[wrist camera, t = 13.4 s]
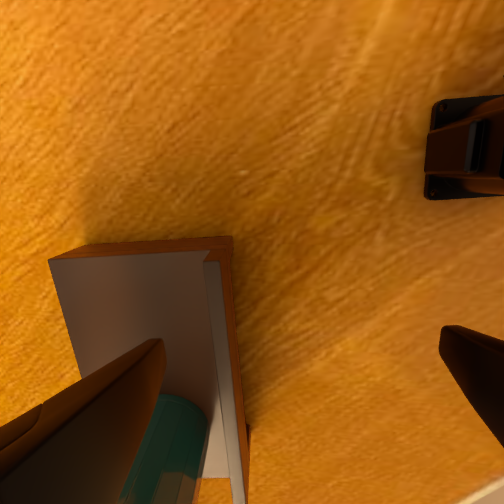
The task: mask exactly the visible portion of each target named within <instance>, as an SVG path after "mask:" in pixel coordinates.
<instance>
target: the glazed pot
mask: <svg viewBox="0 0 504 504" xmlns="http://www.w3.org/2000/svg"><path fill="white" fill-rule="evenodd" d="M209 436H210V426H209V422H208V420H207V418H206V416H205V414H204V413H203V411H202V410H201V409H200V408H199V407H198V406H196V405H195V404H194V403H192V402H191V401H189V400H187V399H185V398H182V397H180V396H176V395H170V394H159V395H158V398H157V402H156V405H155V408H154V411H153V414H152V417H151V419H150V422H149V424H148V427H147V429H146V432H145V434H144V437H143V439H142V442H141V444H140V447H139V449H138V452H137V454H136V457H135V459H134V462H133V464H132V467H131V469H130V472H129V474H128V477H127V479H126V481H125V484H124V486H123V489H122V491H121V494H120V496H119V499H118V501H117V504H197V499H198V494H199V489H200V484H201V479H202V474H203V469H204V464H205V459H206V454H207V449H208V444H209Z"/></svg>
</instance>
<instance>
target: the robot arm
mask: <svg viewBox="0 0 504 504" xmlns="http://www.w3.org/2000/svg"><path fill="white" fill-rule="evenodd" d="M503 77H504V76H503ZM441 105H442V106H443V108H444V110H443V112H441V111H440V109H439V108H440V106H441ZM424 171H425V173H426V177H425V187H424V197H425V198H426V199H427V200H447V199H462V198H477V197H492V196H504V94H502V95H490V96H479V97H467V98H456V99H444V100H441V101H439V102H437V103H435V104H434V106H433V108H432V115H431V125H430V133H429V134H428V136H427V146H426V157H425V167H424ZM432 190H434V192H435V193H434V195H433V196H431V191H432ZM439 354H440V356H441V358H442V359H443V361H444V363H445V364H446V366H447V368H448V369H449V371H450V372H451V374H452V376H453V377H454V379H455V380H456V382H457V384H458V385H459V387H460V388H461V390H462V392H463V393H464V395H465V396H466V398H467V399H468V401H469V402H470V404H471V405H472V406H473V408H474V409H475V411H476V412H477V413H478V415H479V416H480V417H481V419H482V420H483V421H484V423H485V424H486V425H487V426H488V428H489V429H490V430H491V432H492V433H493V434H494V436H495V437H496V438H497V440H498V441H499V442H500V444H501V445H502V446H503V448H504V341H503V340H500V339H497V338H494V337H491V336H488V335H485V334H482V333H479V332H477V331H474V330H471V329H468V328H465V327H462V326H459V325H446V326H443V327H442V329H441V334H440V341H439ZM166 367H167V357H166V352H165V346H164V341H163V339H161V338H151V339H148V340H146V341H145V342H143V343H141V344H140V345H138V346H136V347H135V348H133V349H131V350H130V351H128V352H126V353H125V354H123V355H121V356H120V357H118V358H116V359H115V360H113V361H111V362H110V363H108V364H106V365H105V366H103V367H101V368H100V369H98V370H96V371H95V372H93V373H91V374H90V375H88V376H86V377H85V378H83V379H81V380H80V381H78V382H76V383H74V384H73V385H71V386H69V387H68V388H66V389H64V390H63V391H61V392H59V393H58V394H56V395H54V396H53V397H51V398H49V399H48V400H46V401H44V402H43V404H39V405H37V406H36V407H34V408H33V409H31V410H29V411H28V412H26V413H24V414H22V415H21V416H19V417H17V418H16V419H14V420H12V421H10V422H9V423H7V424H5V425H3V426H2V427H0V504H117V501H118V499H119V496H120V494H121V491H122V489H123V486H124V484H125V481H126V479H127V477H128V474H129V472H130V469H131V467H132V464H133V462H134V459H135V457H136V454H137V452H138V449H139V447H140V444H141V442H142V439H143V437H144V434H145V432H146V429H147V427H148V424H149V422H150V419H151V417H152V414H153V411H154V408H155V405H156V402H157V398H158V395H159V391H160V388H161V384H162V381H163V377H164V374H165V370H166Z"/></svg>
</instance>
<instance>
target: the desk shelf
mask: <svg viewBox="0 0 504 504" xmlns="http://www.w3.org/2000/svg"><path fill="white" fill-rule="evenodd" d="M232 252H233V240H232V236H219V237H203V238H187V239H171V240H155V241H139V242H123V243H108V244H92V245H84V246H81V247H78V248H76V249H73V250H71V251H68V252H66V253H63V254H61V255H58V256H55V257H53V258H50V259H48V263H49V267H50V270H51V274H52V277H53V281H54V284H55V288H56V291H57V295H58V298H59V301H60V305H61V308H62V312H63V315H64V319H65V322H66V326H67V329H68V333H69V336H70V340H71V343H72V346H73V350H74V353H75V357H76V360H77V364H78V367H79V371H80V374H81V378H82V379H83V378H85V377H86V376H88V375H90V374H91V373H93V372H95V371H96V370H98V369H100V368H101V367H103V366H105V365H106V364H108V363H110V362H111V361H113V360H115V359H116V358H118V357H120V356H121V355H123V354H125V353H126V352H128V351H130V350H131V349H133V348H135V347H136V346H138V345H140V344H141V343H143V342H145V341H146V340H148V339H151V338H161V339H163V341H164V346H165V352H166V357H167V367H166V370H165V374H164V377H163V381H162V384H161V388H160V391H159V394H170V395H176V396H180V397H182V398H185V399H187V400H189V401H191V402H192V403H194V404H195V405H196V406H198V407H199V408H200V409H201V410H202V411H203V413H204V414H205V416H206V418H207V420H208V422H209V426H210V436H209V444H208V449H207V454H206V459H205V464H204V469H203V474H202V478H230V483H231V491H232V499H233V504H248V485H249V462H250V439H251V432H250V425H246V424H245V414H244V404H243V394H242V384H241V374H240V363H239V353H238V343H237V333H236V323H235V313H234V303H233V293H232V282H231V272H230V262H229V260H230V257H231V254H232Z"/></svg>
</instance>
